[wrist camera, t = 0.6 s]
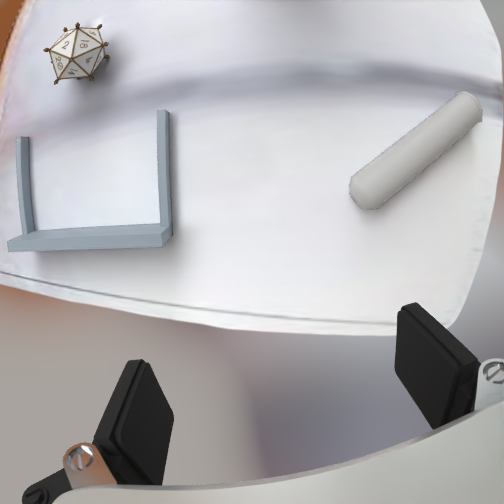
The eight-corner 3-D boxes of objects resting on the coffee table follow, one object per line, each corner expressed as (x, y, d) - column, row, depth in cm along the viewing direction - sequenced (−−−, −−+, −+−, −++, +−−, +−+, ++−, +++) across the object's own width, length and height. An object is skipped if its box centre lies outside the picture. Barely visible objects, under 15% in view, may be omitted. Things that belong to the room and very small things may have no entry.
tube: (373, 224, 36) (486, 125, 32) (356, 192, 33) (478, 94, 29) (351, 207, 40) (461, 117, 36) (334, 177, 37) (452, 88, 33)
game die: (109, 73, 35) (103, 93, 29) (55, 77, 32) (36, 100, 26) (116, 16, 29) (110, 21, 23) (58, 21, 25) (37, 29, 19)
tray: (23, 138, 33) (-1, 137, 27) (168, 112, 34) (157, 103, 28) (31, 241, 37) (8, 252, 31) (172, 234, 38) (162, 247, 33)
